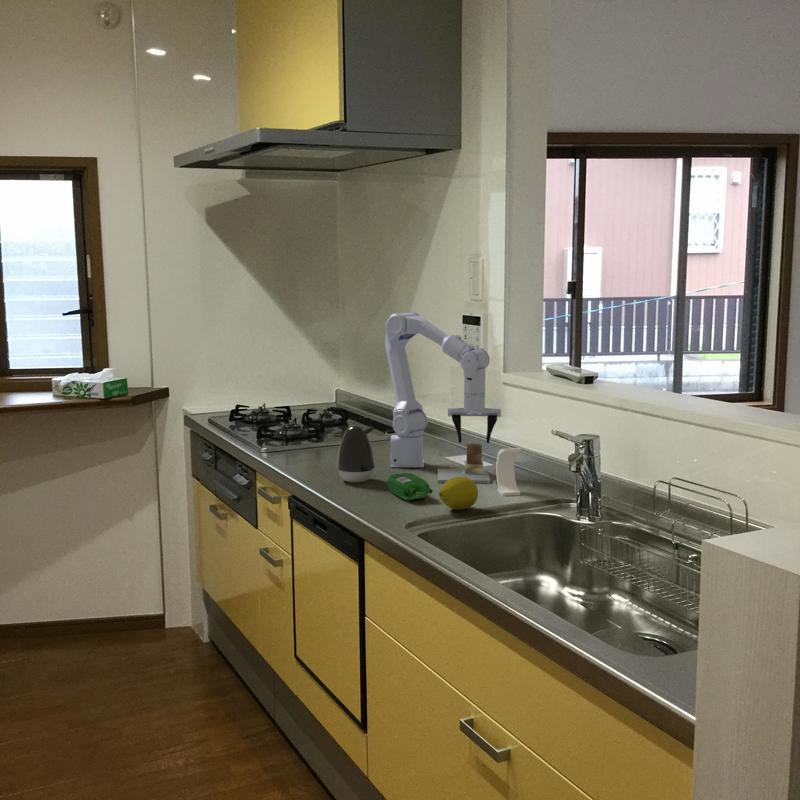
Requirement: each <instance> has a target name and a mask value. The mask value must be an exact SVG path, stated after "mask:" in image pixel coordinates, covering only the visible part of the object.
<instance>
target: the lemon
mask: <svg viewBox="0 0 800 800" xmlns="http://www.w3.org/2000/svg"><path fill="white" fill-rule="evenodd" d="M438 496H439V498H440V500H441V501H442V503H443V504H444V505H445V506H446V507H448V508H449V509H452V510H455V511H463V510H466V509H468V508H471V507H472V506H474V505H475V503H476V502H477V500H478V498H479V490H478V486H477V483H474V482H473V481H472V480H471V479H470V478H467V477H455V478H452V479H449V480H448V481H447V482H445V483H443V485H442V486H441V488H440V489H439V491H438Z"/></svg>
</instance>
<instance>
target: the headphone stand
mask: <svg viewBox="0 0 800 800" xmlns="http://www.w3.org/2000/svg"><path fill="white" fill-rule="evenodd" d="M521 451H522V449H521V447H520V448H519V447H518V448H500V449H499V451H498V453H497V457H496V464H495V465H496V466H495V471H496V472H495V474H496V483H497V487H498V488H496V492H497V493H499V495H501V496H503V497H509V496H510V497H511V496H521V491H520V490H519V487H518V486H517V485H518V484H517V482H516V478H515V477H516V476H515V462H516V461H515V460H516V456H517V454H518V453H519V452H520V453H521Z"/></svg>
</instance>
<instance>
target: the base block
mask: <svg viewBox="0 0 800 800" xmlns="http://www.w3.org/2000/svg"><path fill="white" fill-rule="evenodd" d="M464 469H465V474H483V469H484V461H483V460H482V465H478V464H467V460H464Z"/></svg>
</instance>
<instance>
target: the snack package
mask: <svg viewBox="0 0 800 800" xmlns="http://www.w3.org/2000/svg"><path fill="white" fill-rule="evenodd" d="M386 484H387V486H388V487H387V488H388V489H389V491H390V492H391V493H392V494H393V495H396V496H397V497H398V498H401V499H403V500H405V501H412V500H420V499H424V498H425V497H427V496H428V494H432V493H433V489H431V487H430V484H429V483H428V482H427V481H426V480H425V479H424V478H422V477H419V476H418V475H415V474H414V473H411V472H402V473H395V474H391V475H390V476H388V478H387V482H386Z"/></svg>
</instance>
